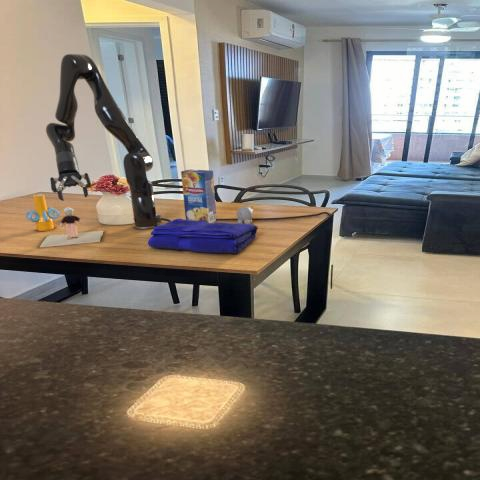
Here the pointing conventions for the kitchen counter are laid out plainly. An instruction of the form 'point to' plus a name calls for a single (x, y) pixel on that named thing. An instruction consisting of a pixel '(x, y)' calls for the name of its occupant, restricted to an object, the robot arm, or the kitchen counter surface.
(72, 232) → the grandmother figurine
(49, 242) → the cloth
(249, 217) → the round bodied animal figurine
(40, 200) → the yellow cone toy
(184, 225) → the towel
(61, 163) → the robot arm
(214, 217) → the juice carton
